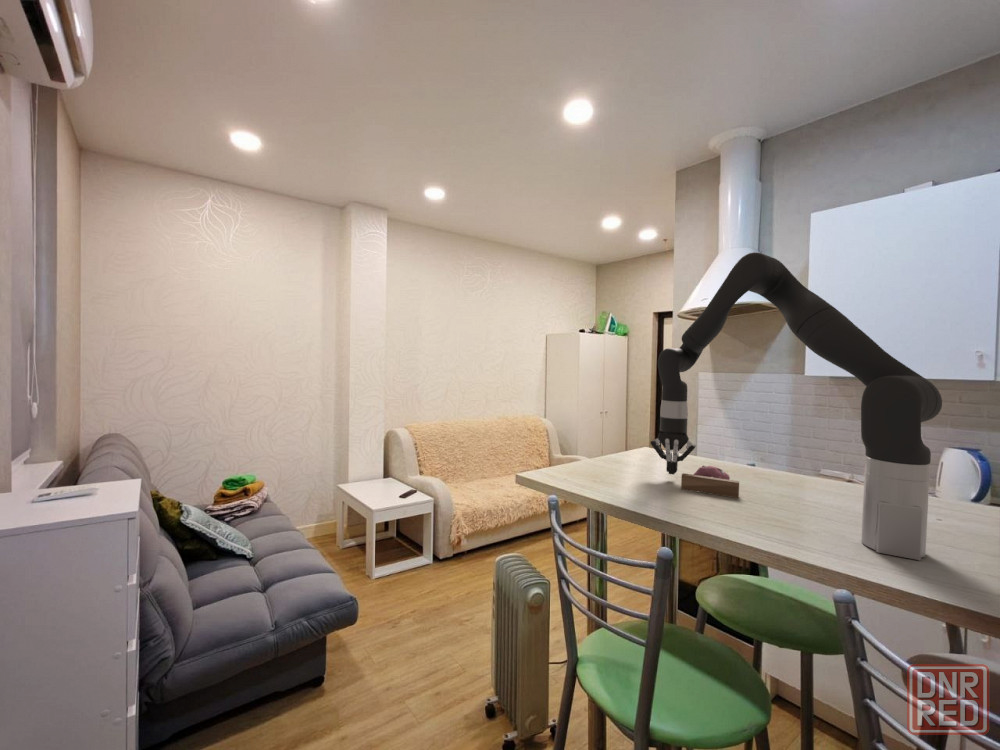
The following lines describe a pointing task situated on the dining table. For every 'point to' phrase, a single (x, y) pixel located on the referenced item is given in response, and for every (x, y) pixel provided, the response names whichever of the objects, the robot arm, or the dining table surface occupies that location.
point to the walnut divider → (710, 485)
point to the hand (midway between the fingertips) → (671, 473)
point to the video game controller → (712, 472)
